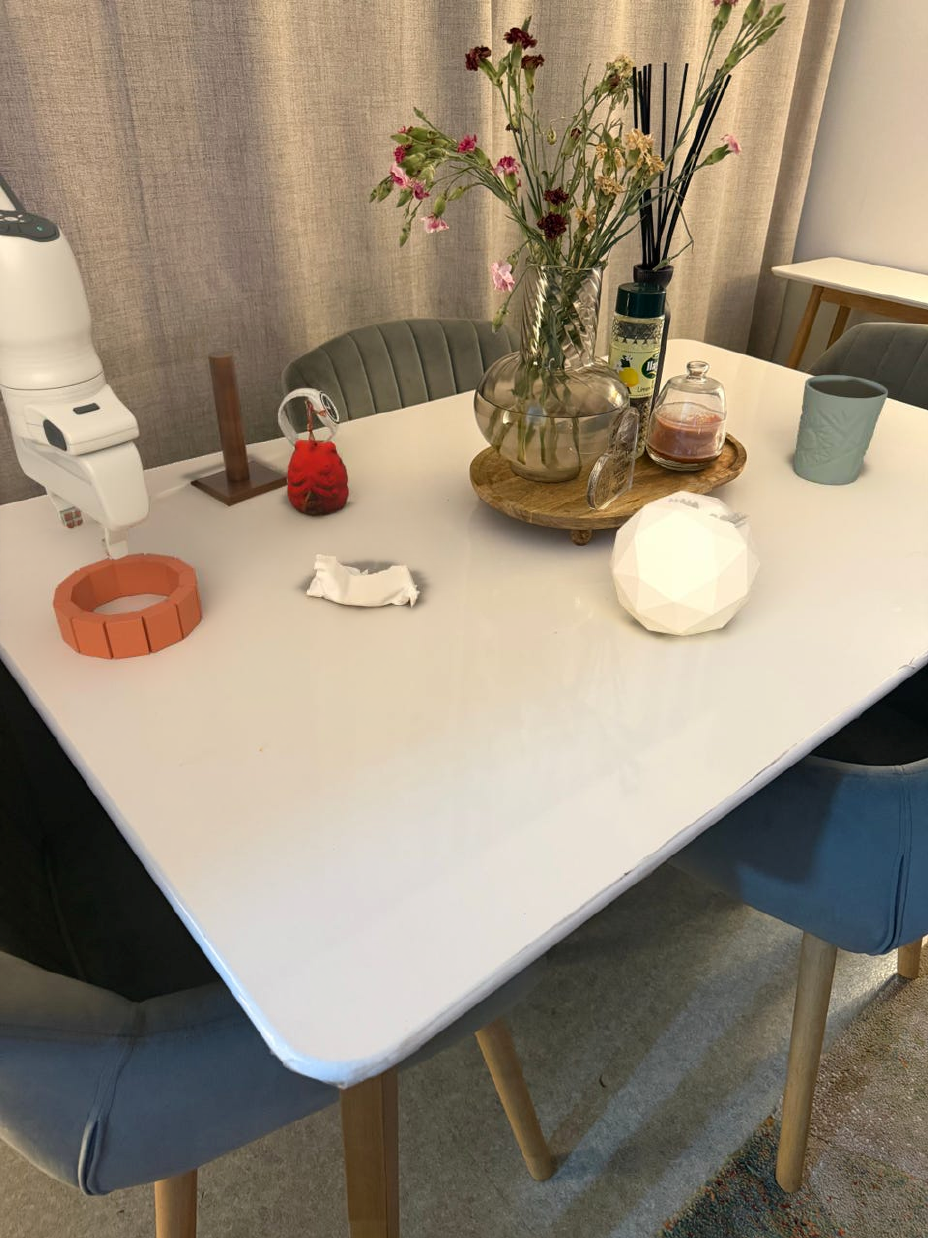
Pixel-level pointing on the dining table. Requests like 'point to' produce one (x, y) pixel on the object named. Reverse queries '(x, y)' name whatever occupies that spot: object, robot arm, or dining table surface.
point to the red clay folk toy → (316, 474)
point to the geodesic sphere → (684, 564)
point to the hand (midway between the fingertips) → (94, 539)
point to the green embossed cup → (836, 427)
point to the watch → (319, 403)
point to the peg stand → (234, 442)
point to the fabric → (362, 584)
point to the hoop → (133, 628)
